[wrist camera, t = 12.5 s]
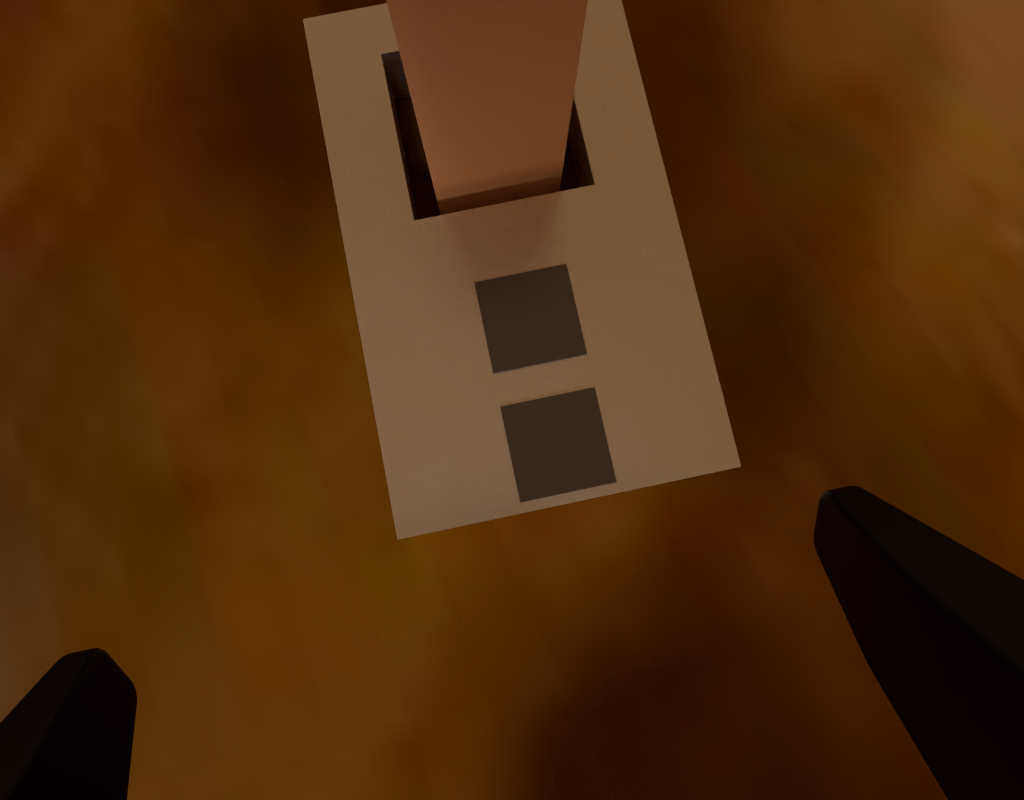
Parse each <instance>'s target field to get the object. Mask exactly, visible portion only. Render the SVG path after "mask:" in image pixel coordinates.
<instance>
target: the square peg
mask: <svg viewBox="0 0 1024 800" xmlns="http://www.w3.org/2000/svg"><path fill="white" fill-rule="evenodd" d="M386 1H387V5H388V9H389V13H390V17H391V20H392V24H393V28H394V32H395V36H396V40H397V44H398V48H399V52H400V56H401V60H402V64H403V68H404V72H405V76H406V80H407V84H408V88H409V92H410V96H411V100H412V103H413V107H414V111H415V115H416V119H417V123H418V127H419V131H420V135H421V139H422V143H423V147H424V151H425V155H426V159H427V163H428V167H429V171H430V175H431V179H432V183H433V186H434V190H435V194H436V198H437V202H438V206H439V210H440V214H441V215H444V214H449V213H454V212H459V211H464V210H469V209H474V208H479V207H485V206H490V205H495V204H500V203H505V202H510V201H515V200H520V199H525V198H530V197H535V196H540V195H545V194H550V193H555V192H559V191H560V184H561V177H562V171H563V164H564V157H565V150H566V144H567V137H568V130H569V124H570V117H571V110H572V103H573V97H574V90H575V83H576V76H577V70H578V63H579V56H580V49H581V43H582V36H583V29H584V22H585V16H586V9H587V2H588V0H386Z"/></svg>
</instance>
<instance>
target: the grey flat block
mask: <svg viewBox="0 0 1024 800" xmlns="http://www.w3.org/2000/svg"><path fill="white" fill-rule="evenodd" d="M303 22H304V28H305V33H306V39H307V44H308V50H309V55H310V61H311V66H312V72H313V77H314V83H315V88H316V94H317V99H318V105H319V110H320V116H321V121H322V127H323V132H324V138H325V143H326V149H327V154H328V160H329V165H330V171H331V176H332V182H333V187H334V193H335V198H336V204H337V209H338V215H339V220H340V226H341V231H342V237H343V242H344V248H345V253H346V259H347V264H348V270H349V275H350V281H351V286H352V292H353V297H354V303H355V308H356V314H357V319H358V325H359V330H360V336H361V341H362V347H363V352H364V358H365V363H366V369H367V374H368V380H369V385H370V391H371V396H372V402H373V407H374V413H375V418H376V424H377V429H378V435H379V440H380V446H381V451H382V457H383V462H384V468H385V473H386V479H387V484H388V490H389V495H390V501H391V506H392V512H393V517H394V523H395V528H396V534H397V539H402V538H407V537H412V536H417V535H421V534H426V533H431V532H435V531H440V530H445V529H450V528H454V527H459V526H464V525H468V524H473V523H478V522H483V521H487V520H492V519H497V518H501V517H506V516H511V515H516V514H520V513H525V512H530V511H534V510H539V509H544V508H549V507H553V506H558V505H563V504H567V503H572V502H577V501H582V500H586V499H591V498H596V497H600V496H605V495H610V494H615V493H619V492H624V491H629V490H633V489H638V488H643V487H648V486H652V485H657V484H662V483H666V482H671V481H676V480H681V479H685V478H690V477H695V476H699V475H704V474H709V473H714V472H718V471H723V470H728V469H732V468H737V467H741V464H740V460H739V456H738V452H737V448H736V444H735V441H734V437H733V433H732V429H731V425H730V421H729V417H728V413H727V409H726V406H725V402H724V398H723V394H722V390H721V386H720V382H719V378H718V374H717V370H716V367H715V363H714V359H713V355H712V351H711V347H710V343H709V339H708V335H707V331H706V328H705V324H704V320H703V316H702V312H701V308H700V304H699V300H698V296H697V292H696V289H695V285H694V281H693V277H692V273H691V269H690V265H689V261H688V257H687V254H686V250H685V246H684V242H683V238H682V234H681V230H680V226H679V222H678V218H677V215H676V211H675V207H674V203H673V199H672V195H671V191H670V187H669V183H668V179H667V176H666V172H665V168H664V164H663V160H662V156H661V152H660V148H659V144H658V141H657V137H656V133H655V129H654V125H653V121H652V117H651V113H650V109H649V105H648V102H647V98H646V94H645V90H644V86H643V82H642V78H641V74H640V70H639V66H638V63H637V59H636V55H635V51H634V47H633V43H632V39H631V35H630V31H629V28H628V24H627V20H626V16H625V12H624V8H623V4H622V0H588V2H587V9H586V16H585V22H584V29H583V36H582V43H581V49H580V56H579V63H578V70H577V76H576V83H575V90H574V97H573V103H572V110H571V117H570V124H569V130H568V137H567V138H568V142H569V147H570V151H571V155H572V159H573V164H574V168H575V172H576V176H577V180H578V185H579V188H575V189H570V190H565V191H560V192H555V193H550V194H545V195H540V196H535V197H530V198H525V199H520V200H515V201H510V202H505V203H500V204H495V205H490V206H485V207H479V208H474V209H469V210H464V211H459V212H454V213H449V214H444V215H439V216H434V217H429V218H424V219H419V220H418V216H417V211H416V206H415V201H414V196H413V191H412V186H411V181H410V175H409V170H408V165H407V160H406V155H405V150H404V145H403V140H402V135H401V130H400V125H399V120H398V115H397V110H396V105H395V100H396V99H401V98H406V97H411V96H410V92H409V88H408V84H407V80H406V76H405V72H404V68H403V64H402V60H401V56H400V52H399V48H398V44H397V40H396V36H395V32H394V28H393V24H392V20H391V17H390V13H389V9H388V5H387V3H385V4H380V5H374V6H369V7H364V8H358V9H353V10H348V11H343V12H337V13H332V14H327V15H322V16H316V17H311V18H306V19H303Z"/></svg>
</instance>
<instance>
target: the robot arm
mask: <svg viewBox="0 0 1024 800" xmlns="http://www.w3.org/2000/svg"><path fill="white" fill-rule="evenodd" d="M814 544H815V548H816V551H817V554H818V556H819V558H820V561H821V563H822V565H823V567H824V569H825V572H826V574H827V576H828V578H829V580H830V583H831V585H832V587H833V589H834V591H835V594H836V596H837V598H838V600H839V602H840V605H841V607H842V609H843V611H844V613H845V615H846V618H847V620H848V622H849V624H850V626H851V629H852V631H853V633H854V635H855V637H856V640H857V642H858V644H859V646H860V648H861V650H862V652H863V654H864V656H865V658H866V660H867V663H868V664H869V666H870V668H871V670H872V672H873V673H874V675H875V677H876V679H877V681H878V682H879V684H880V686H881V687H882V689H883V691H884V692H885V694H886V696H887V697H888V699H889V701H890V703H891V704H892V706H893V708H894V709H895V711H896V713H897V714H898V716H899V718H900V719H901V721H902V723H903V724H904V726H905V728H906V730H907V731H908V733H909V735H910V736H911V738H912V740H913V741H914V743H915V745H916V746H917V748H918V750H919V751H920V753H921V755H922V757H923V758H924V760H925V762H926V763H927V765H928V767H929V768H930V770H931V772H932V773H933V775H934V777H935V778H936V780H937V782H938V784H939V785H940V787H941V789H942V790H943V792H944V794H945V795H946V797H947V799H948V800H1024V580H1023V579H1021V578H1019V577H1017V576H1016V575H1014V574H1012V573H1010V572H1009V571H1007V570H1005V569H1003V568H1002V567H1000V566H998V565H996V564H995V563H993V562H991V561H989V560H988V559H986V558H984V557H982V556H980V555H979V554H977V553H975V552H973V551H972V550H970V549H968V548H966V547H965V546H963V545H961V544H959V543H958V542H956V541H954V540H952V539H951V538H949V537H947V536H945V535H944V534H942V533H940V532H938V531H936V530H935V529H933V528H931V527H929V526H928V525H926V524H924V523H922V522H921V521H919V520H917V519H915V518H914V517H912V516H910V515H908V514H907V513H905V512H903V511H901V510H900V509H898V508H896V507H894V506H893V505H891V504H889V503H887V502H885V501H884V500H882V499H880V498H878V497H877V496H875V495H873V494H871V493H870V492H868V491H866V490H864V489H862V488H860V487H857V486H846V487H841V488H837V489H832V490H827V491H825V492H824V493H823V494H822V495H821V496H820V500H819V505H818V511H817V517H816V523H815V529H814ZM136 706H137V694H136V690H135V687H134V684H133V682H132V681H131V680H130V678H129V677H128V676H127V675H126V674H125V673H124V671H123V670H122V669H121V668H120V667H119V666H118V665H117V663H116V662H115V661H114V660H113V659H112V658H111V657H110V655H109V654H108V653H107V652H106V651H105V650H102V649H99V648H93V649H88V650H83V651H79V652H74V653H70V654H67V655H65V656H63V657H62V658H60V659H59V660H58V661H57V662H56V663H55V664H54V665H53V666H52V667H51V668H50V669H49V671H48V672H47V673H46V674H45V675H44V676H43V677H42V678H41V679H40V680H39V681H38V682H37V684H36V685H35V686H34V687H33V688H32V689H31V690H30V691H29V692H28V693H27V694H26V696H25V697H24V698H23V699H22V700H21V701H20V702H19V703H18V704H17V705H16V706H15V707H14V709H13V710H12V711H11V712H10V713H9V714H8V715H7V716H6V717H5V718H4V719H3V721H2V722H1V723H0V800H127V793H128V783H129V774H130V764H131V754H132V745H133V735H134V726H135V716H136Z"/></svg>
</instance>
